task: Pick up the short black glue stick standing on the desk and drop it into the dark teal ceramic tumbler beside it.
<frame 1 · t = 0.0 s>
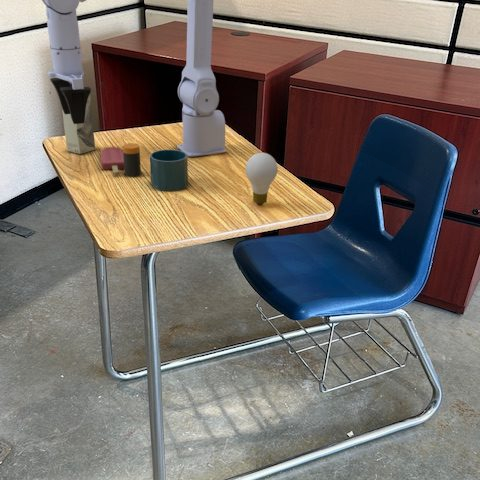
hand: (74, 118, 125), 10 cm above the table, tool pointing down, fingers open, 7 cm apart
box: (81, 151, 139), on the table
popsicle: (113, 165, 132), on the table
glue stick: (132, 173, 128), on the table
tumbler: (169, 184, 123), on the table
light bulb: (259, 205, 116), on the table
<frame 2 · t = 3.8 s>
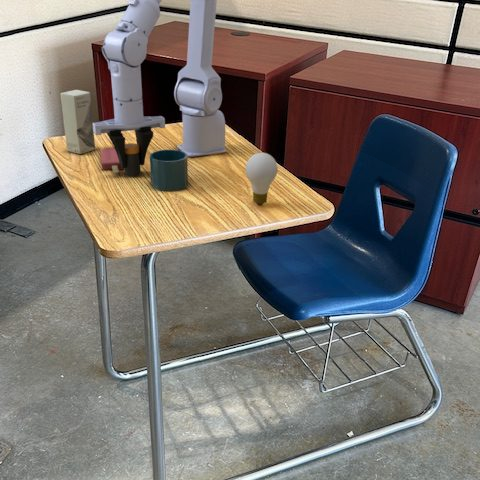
hand: (132, 165, 127), 2 cm above the table, tool pointing down, fingers closed on glue stick, 3 cm apart
glue stick: (132, 173, 128), on the table, touching gripper
everything else where it was.
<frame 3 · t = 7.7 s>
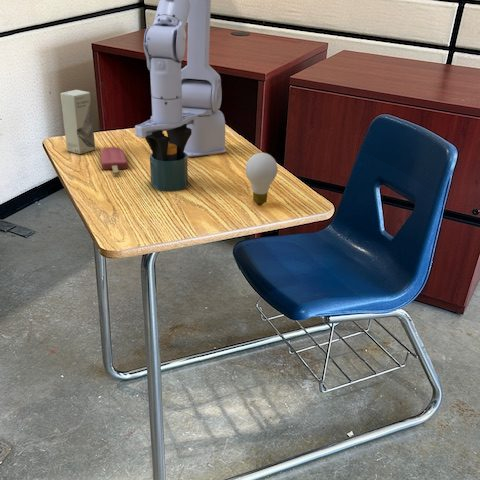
hand: (169, 166, 121), 4 cm above the table, tool pointing down, fingers closed on glue stick, 3 cm apart
glue stick: (169, 175, 122), point 2 cm above the table, touching gripper
everything else where it was.
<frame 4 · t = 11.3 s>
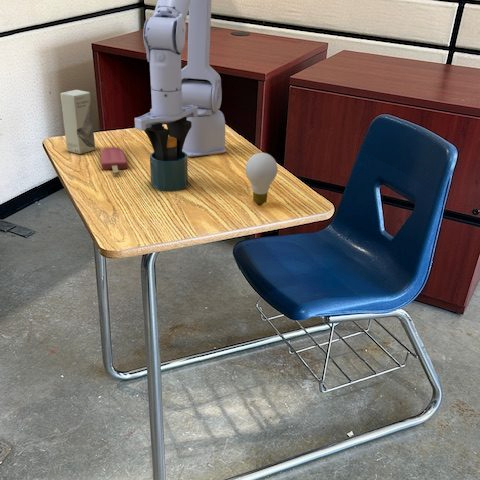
hand: (168, 159, 120), 5 cm above the table, tool pointing down, fingers closed on glue stick, 3 cm apart
glue stick: (169, 168, 121), point 3 cm above the table, touching gripper
everything else where it was.
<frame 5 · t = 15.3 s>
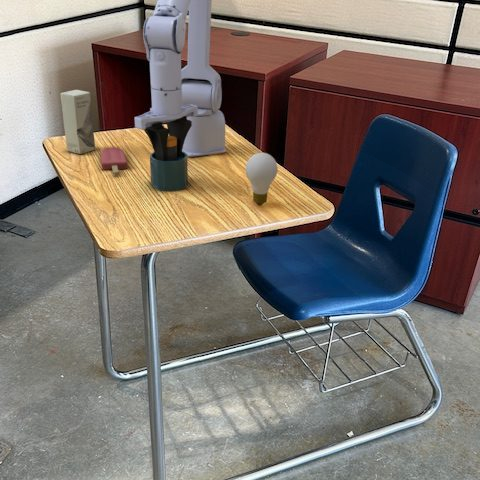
hand: (168, 158, 120), 5 cm above the table, tool pointing down, fingers closed on glue stick, 3 cm apart
glue stick: (169, 168, 121), point 3 cm above the table, touching gripper
everything else where it was.
when the fingers open (7 cm above the table, at t = 18.8 s): glue stick drops 4 cm, resting on tumbler.
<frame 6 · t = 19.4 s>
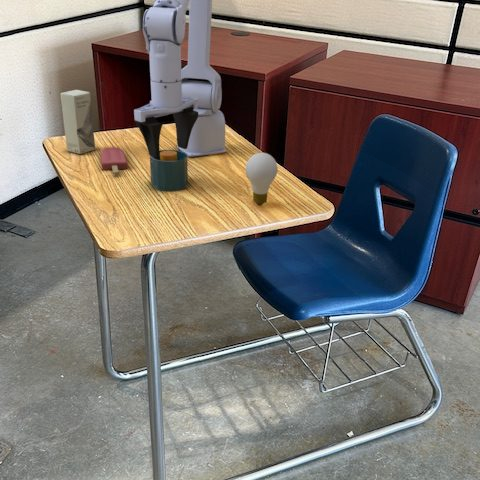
hand: (168, 151, 120), 7 cm above the table, tool pointing down, fingers open, 7 cm apart
glue stick: (169, 182, 123), point 1 cm above the table, touching tumbler
everything else where it was.
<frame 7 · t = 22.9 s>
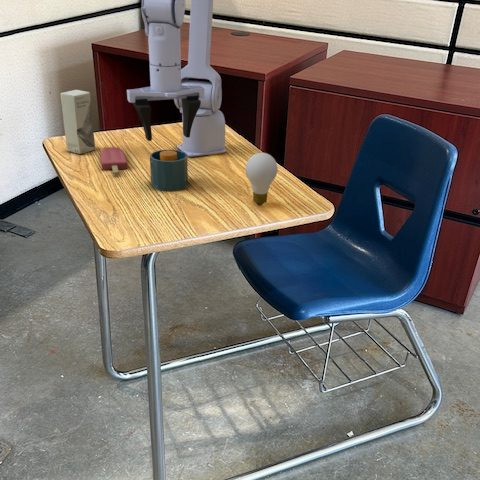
hand: (167, 137, 118), 9 cm above the table, tool pointing down, fingers open, 7 cm apart
nothing on the table moved.
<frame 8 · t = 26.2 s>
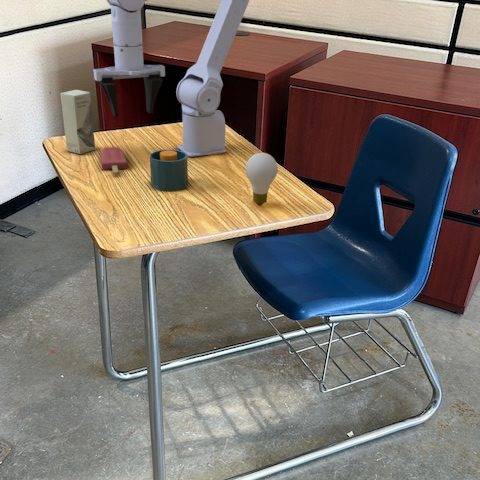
hand: (132, 113, 128), 10 cm above the table, tool pointing down, fingers open, 7 cm apart
nothing on the table moved.
at the end: glue stick 0.0 cm off-centre in the tumbler, point 0.5 cm above the tumbler's base; glue stick touching tumbler; the gripper is holding nothing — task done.
